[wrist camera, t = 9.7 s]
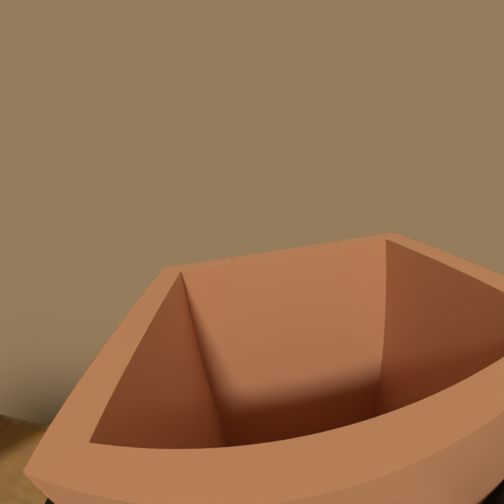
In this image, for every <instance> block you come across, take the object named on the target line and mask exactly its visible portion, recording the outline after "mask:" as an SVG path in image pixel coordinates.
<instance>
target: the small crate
mask: <svg viewBox="0 0 504 504" xmlns="http://www.w3.org/2000/svg"><path fill="white" fill-rule="evenodd" d="M23 473H24V474H25V475H26V476H27V478H28V479H29V480H30V481H31V482H32V483H33V484H34V485H35V486H36V487H37V488H38V489H39V490H41V491H42V492H43V493H44V494H45V495H46V496H47V497H48V498H49V499H50V500H51V501H52V502H54V503H55V504H482V503H483V502H484V501H485V500H486V499H487V498H488V497H489V496H490V495H491V494H492V493H493V492H494V491H495V489H496V488H497V487H498V486H499V485H500V484H501V483H502V482H503V480H504V276H502V275H500V274H498V273H496V272H493V271H491V270H489V269H486V268H484V267H482V266H479V265H477V264H474V263H472V262H469V261H467V260H464V259H462V258H459V257H457V256H455V255H452V254H450V253H447V252H445V251H442V250H439V249H437V248H434V247H431V246H429V245H426V244H423V243H421V242H418V241H415V240H413V239H410V238H407V237H404V236H402V235H398V234H396V233H386V234H380V235H373V236H366V237H361V238H354V239H347V240H341V241H335V242H328V243H321V244H315V245H308V246H302V247H296V248H289V249H283V250H276V251H270V252H263V253H257V254H250V255H244V256H238V257H230V258H224V259H217V260H211V261H205V262H198V263H191V264H185V265H178V266H171V267H165V268H164V269H163V270H162V271H161V272H160V273H159V275H158V276H157V278H156V279H155V280H154V281H153V282H152V283H151V285H150V286H149V287H148V289H147V290H146V291H145V292H144V294H143V295H142V296H141V297H140V299H139V300H138V301H137V303H136V304H135V305H134V306H133V308H132V309H131V310H130V312H129V313H128V314H127V316H126V317H125V318H124V320H123V321H122V322H121V324H120V325H119V326H118V328H117V329H116V330H115V332H114V333H113V335H112V336H111V337H110V338H109V340H108V341H107V343H106V344H105V345H104V347H103V348H102V349H101V351H100V352H99V353H98V355H97V356H96V358H95V359H94V360H93V362H92V363H91V365H90V366H89V368H88V369H87V370H86V372H85V374H84V375H83V376H82V378H81V379H80V381H79V382H78V383H77V385H76V386H75V388H74V389H73V391H72V392H71V394H70V396H69V397H68V398H67V400H66V402H65V403H64V404H63V406H62V408H61V409H60V411H59V412H58V414H57V415H56V417H55V418H54V420H53V421H52V423H51V425H50V426H49V428H48V429H47V431H46V433H45V434H44V436H43V438H42V439H41V441H40V443H39V444H38V446H37V448H36V449H35V451H34V453H33V454H32V456H31V458H30V460H29V461H28V463H27V465H26V467H25V468H24V470H23Z"/></svg>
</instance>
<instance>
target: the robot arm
mask: <svg viewBox="0 0 504 504" xmlns="http://www.w3.org/2000/svg"><path fill="white" fill-rule="evenodd" d="M45 504H55V503H54V502H52V501H51V500H50V499H49V498H48V499H47V500H46V503H45ZM482 504H504V480H503V482H502V483H501V484H500V485H499V486H498V487H497V488H496V489H495V491H494V492H493V493H492V494H491V495H490V496H489V497H488V498H487V499H486V500H485V501H484V502H483V503H482Z"/></svg>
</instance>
